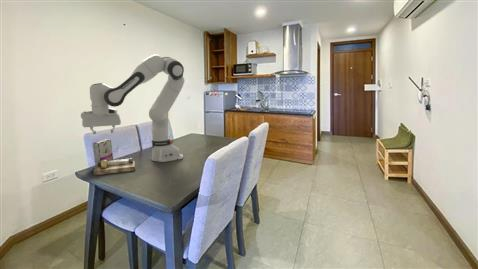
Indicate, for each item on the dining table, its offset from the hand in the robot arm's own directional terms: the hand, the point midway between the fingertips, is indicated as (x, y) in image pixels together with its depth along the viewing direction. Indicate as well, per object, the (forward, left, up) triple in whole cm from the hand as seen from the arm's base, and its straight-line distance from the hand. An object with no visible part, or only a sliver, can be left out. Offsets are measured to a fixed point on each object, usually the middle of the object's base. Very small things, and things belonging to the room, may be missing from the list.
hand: (103, 133), depth 144 cm
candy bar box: (+2, -10, -23) cm, 25 cm away
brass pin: (+1, +4, -23) cm, 24 cm away
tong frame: (-5, 0, -21) cm, 21 cm away
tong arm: (-4, +1, -20) cm, 21 cm away
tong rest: (-5, +2, -23) cm, 24 cm away
